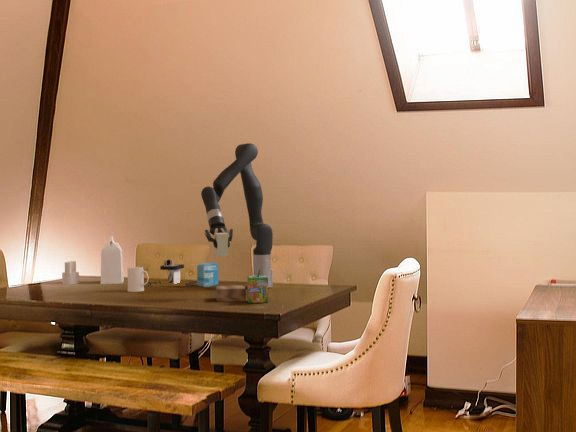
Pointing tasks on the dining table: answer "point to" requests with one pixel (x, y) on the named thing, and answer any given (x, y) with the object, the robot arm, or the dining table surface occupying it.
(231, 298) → the walnut block
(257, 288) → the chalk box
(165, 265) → the black-topped pedestal
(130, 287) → the mug
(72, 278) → the cylinder with rectangular tab
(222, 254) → the tea tin
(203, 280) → the data package
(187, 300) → the dining table surface
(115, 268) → the milk
